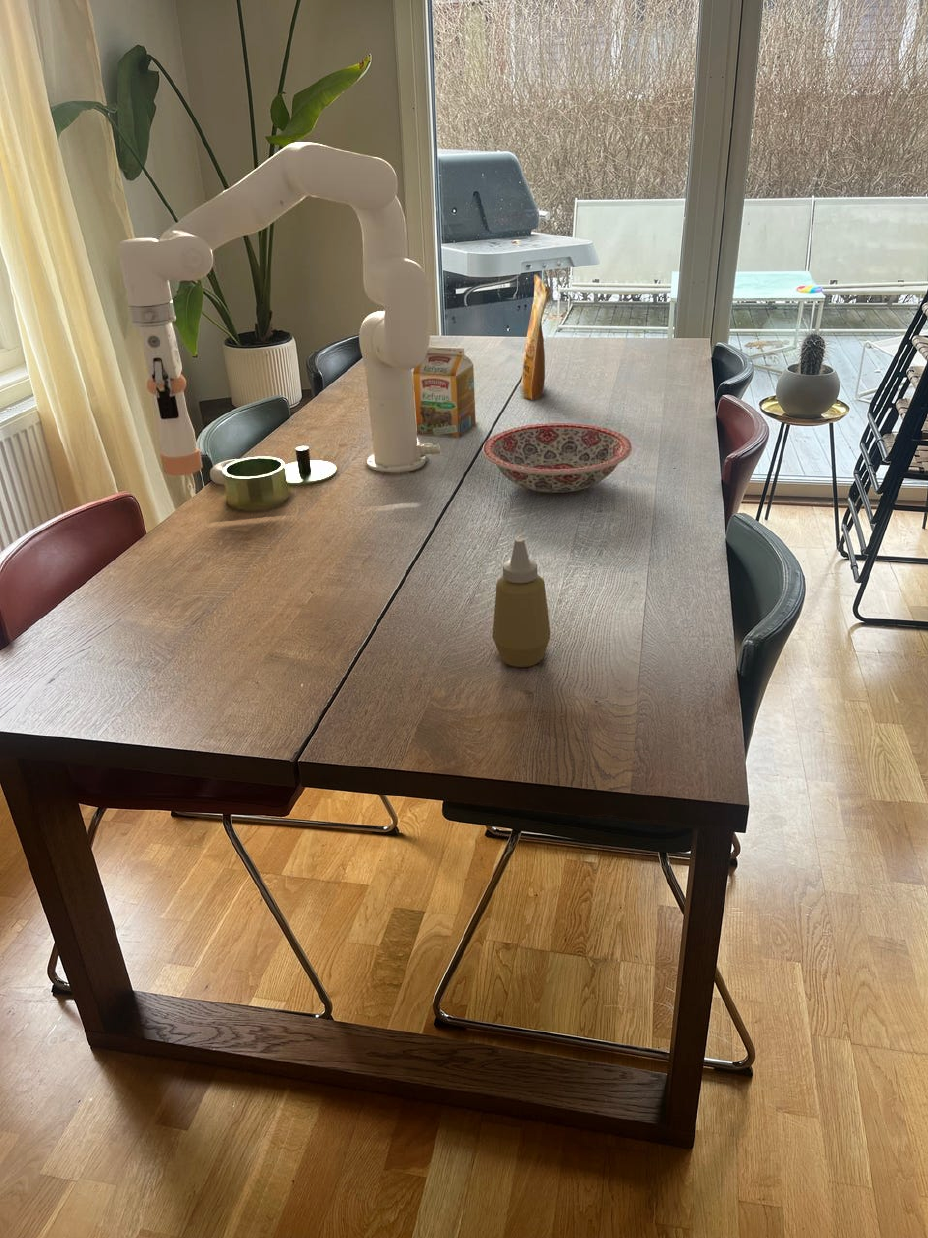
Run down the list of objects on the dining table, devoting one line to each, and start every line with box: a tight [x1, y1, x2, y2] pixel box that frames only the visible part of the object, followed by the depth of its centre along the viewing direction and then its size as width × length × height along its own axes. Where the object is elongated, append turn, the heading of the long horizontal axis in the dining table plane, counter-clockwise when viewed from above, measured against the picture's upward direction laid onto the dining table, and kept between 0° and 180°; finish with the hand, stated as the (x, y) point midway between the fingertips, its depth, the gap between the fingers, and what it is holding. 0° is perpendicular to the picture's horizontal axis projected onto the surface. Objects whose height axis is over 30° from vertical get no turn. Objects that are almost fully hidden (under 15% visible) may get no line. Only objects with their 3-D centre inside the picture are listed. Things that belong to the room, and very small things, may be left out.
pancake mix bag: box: [521, 273, 550, 401], centre depth 242 cm, size 7×19×28 cm, turn 177°
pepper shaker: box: [146, 373, 203, 477], centre depth 178 cm, size 7×7×19 cm
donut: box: [209, 458, 243, 486], centre depth 200 cm, size 10×4×10 cm
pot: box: [222, 456, 290, 510], centre depth 188 cm, size 12×12×7 cm
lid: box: [285, 445, 337, 486], centre depth 199 cm, size 13×13×6 cm
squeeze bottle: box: [491, 537, 551, 668], centre depth 129 cm, size 8×8×18 cm
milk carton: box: [412, 345, 477, 438], centre depth 220 cm, size 11×11×19 cm
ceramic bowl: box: [482, 422, 633, 494], centre depth 188 cm, size 29×29×8 cm
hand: (172, 411), depth 177 cm, fingers closed on pepper shaker, 6 cm apart
